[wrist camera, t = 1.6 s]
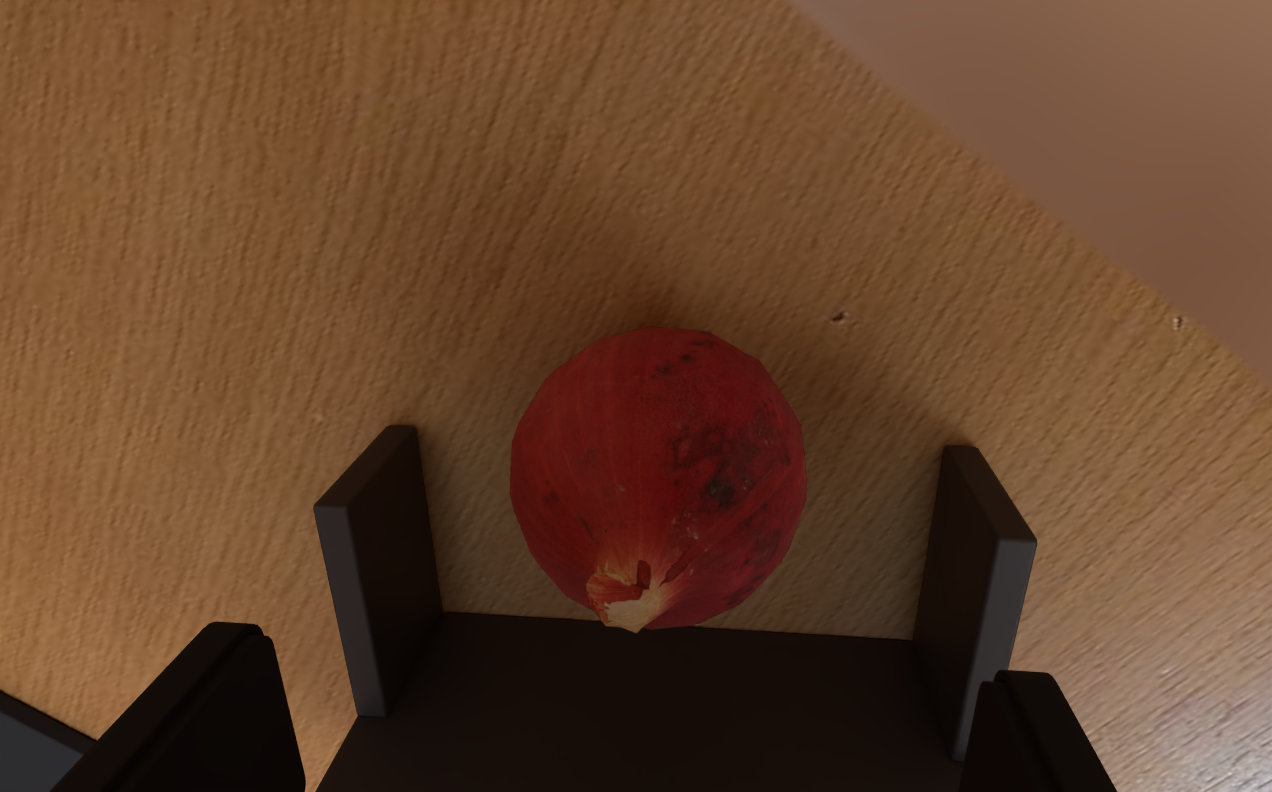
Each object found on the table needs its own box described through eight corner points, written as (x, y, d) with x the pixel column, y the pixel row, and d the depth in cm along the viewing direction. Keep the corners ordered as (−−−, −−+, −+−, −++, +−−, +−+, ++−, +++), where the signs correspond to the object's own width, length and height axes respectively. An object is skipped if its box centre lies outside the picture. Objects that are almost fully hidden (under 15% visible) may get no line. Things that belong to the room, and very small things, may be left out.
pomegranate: (701, 233, 17) (682, 363, 10) (837, 426, 19) (908, 662, 11) (507, 370, 19) (370, 564, 12) (645, 535, 20) (601, 798, 13)
